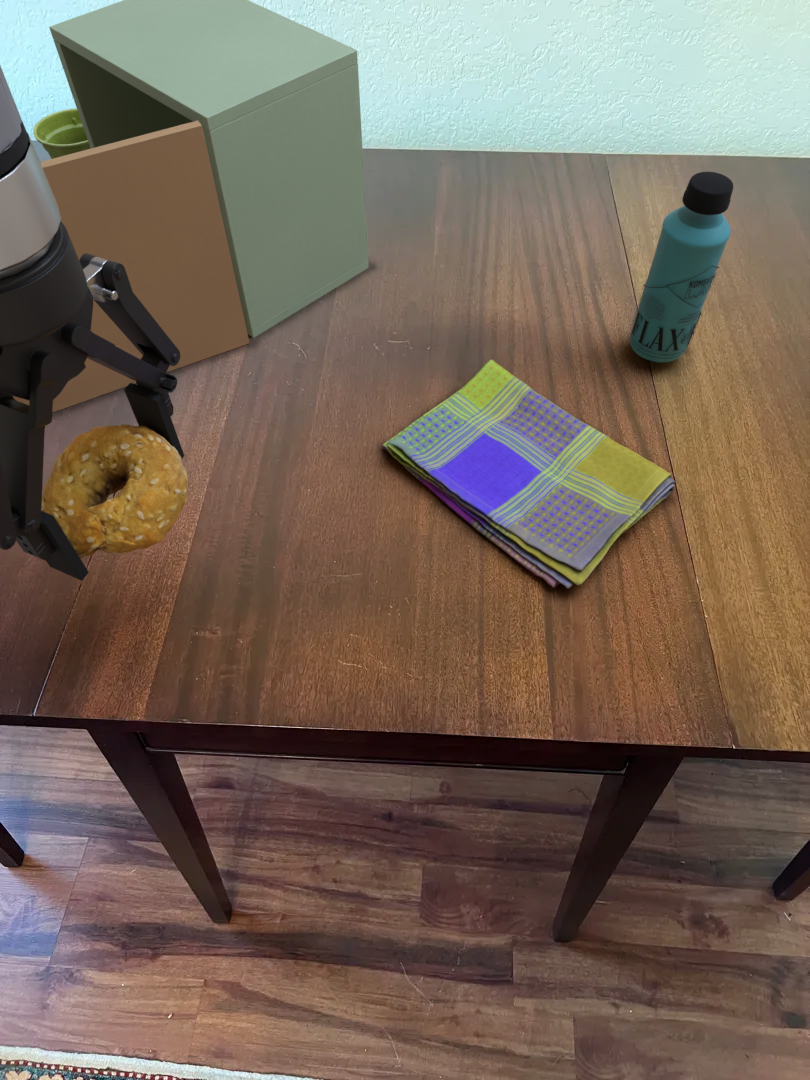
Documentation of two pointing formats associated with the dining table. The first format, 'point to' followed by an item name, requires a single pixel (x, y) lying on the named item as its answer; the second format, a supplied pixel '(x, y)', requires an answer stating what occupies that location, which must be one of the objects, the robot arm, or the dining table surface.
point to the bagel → (116, 489)
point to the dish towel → (530, 475)
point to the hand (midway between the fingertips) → (120, 508)
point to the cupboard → (239, 130)
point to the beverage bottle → (682, 269)
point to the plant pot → (61, 133)
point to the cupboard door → (151, 245)
